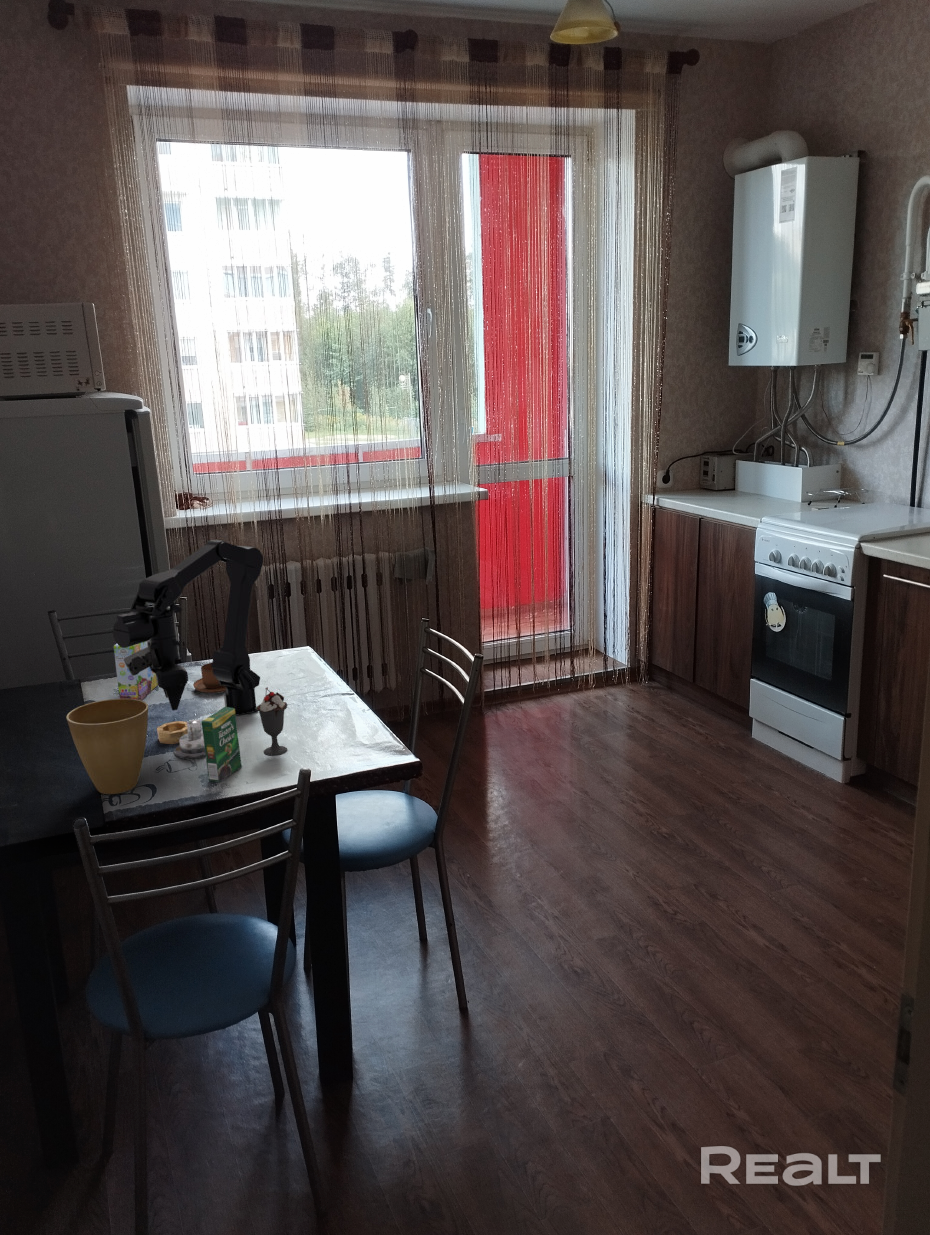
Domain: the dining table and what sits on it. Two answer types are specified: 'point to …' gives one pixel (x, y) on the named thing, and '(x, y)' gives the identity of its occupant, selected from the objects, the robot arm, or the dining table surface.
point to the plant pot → (111, 741)
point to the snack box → (138, 683)
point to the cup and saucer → (208, 681)
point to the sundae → (273, 720)
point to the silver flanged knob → (191, 742)
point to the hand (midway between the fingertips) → (171, 703)
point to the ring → (172, 732)
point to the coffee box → (221, 744)
